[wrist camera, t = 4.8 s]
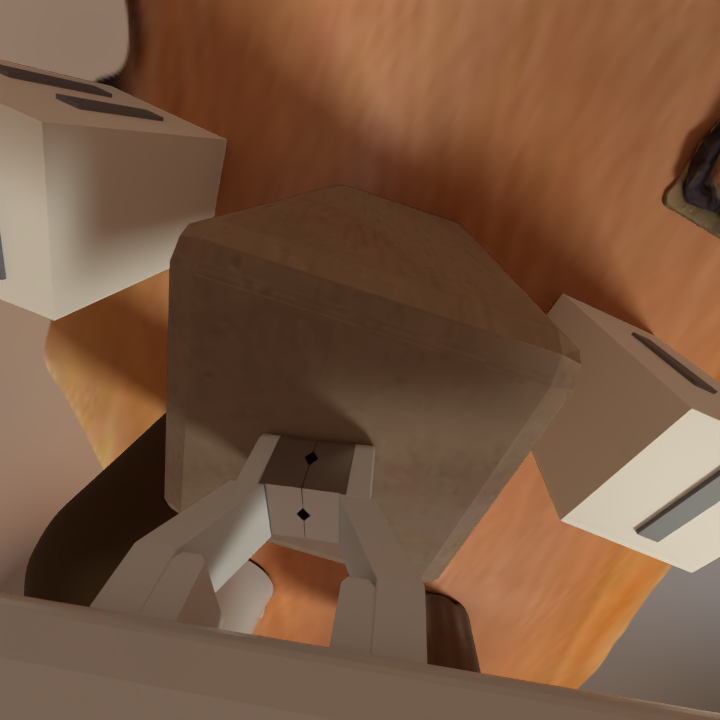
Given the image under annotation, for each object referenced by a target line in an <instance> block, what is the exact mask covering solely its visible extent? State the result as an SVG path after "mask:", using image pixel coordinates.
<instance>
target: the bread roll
mask: <svg viewBox="0 0 720 720" xmlns="http://www.w3.org/2000/svg"><path fill="white" fill-rule="evenodd" d="M662 202H663V204H664V205H665V206H666V207H667V208H669V209H670V210H673V211H675V212H677V213H679V214H680V215H682V216H683V217H685V218H687V219H688V220H690V221H692V222H693V223H695V224H696V225H697V226H699V227H701V228H703V229H704V230H707V231H708V232H709V233H711V234H713V235H714V236H716V237H718V238H719V239H720V119H719V120H718V121H717V124H716V125H715V126H714V127H713V128H711V130H710V133H709V135H707V136H706V137H705V138H703V139H702V140H701V141H700V143H699V144H698V146H697V149H696V151H695V153H694V155H693V156H692V158H691V159H690V160H689V161H688V162H687V165H686V167H685V168H684V169H683V171H682V173H681V175H680V176H679V177H678V178H677V179H676V181H675V183H674V184H673V185H672V186H671V187H670V188H669V189H668V190H667V191H666V193H665V196H664V198H663V201H662Z"/></svg>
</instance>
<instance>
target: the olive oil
mask: <svg viewBox="0 0 720 720" xmlns="http://www.w3.org/2000/svg"><path fill="white" fill-rule="evenodd" d="M165 454H166V413H165V414H164V415H163V416H162V417H161V418H160V419H159V420H157V421H156V422H155V423H154V424H153V425H152V426H151V427H150V428H149V429H148V430H147V431H146V432H145V433H144V434H142V435H141V436H140V437H139V438H138V439H137V440H136V441H135V442H134V443H133V444H132V445H131V446H130V447H128V448H127V449H126V450H125V451H124V452H123V453H122V454H121V455H120V456H119V457H118V458H117V459H115V460H114V461H113V462H112V463H111V464H110V465H109V466H108V467H107V468H106V469H104V470H103V471H102V472H101V473H100V474H99V475H98V476H97V477H96V478H95V479H94V480H92V481H91V482H90V483H89V484H88V485H87V486H86V487H85V488H84V489H83V490H81V491H80V492H79V493H78V494H77V495H76V496H75V497H74V498H73V499H72V500H71V501H69V502H68V503H67V504H66V505H65V506H64V507H63V508H62V509H61V510H60V511H59V512H58V514H57V515H56V516H55V517H54V518H53V520H52V521H51V522H50V524H49V525H48V527H47V528H46V530H45V531H44V533H43V534H42V536H41V538H40V540H39V541H38V543H37V545H36V547H35V549H34V551H33V553H32V555H31V557H30V559H29V562H28V566H27V570H26V575H25V585H24V596H27V597H33V598H39V599H45V600H51V601H57V602H63V603H69V604H75V605H81V606H87V607H90V605H91V604H92V602H93V601H94V600H95V598H96V597H97V595H98V594H99V592H100V591H101V590H102V588H103V587H104V585H105V584H106V583H107V581H108V580H109V578H110V577H111V576H112V574H113V573H114V571H115V570H116V569H117V567H118V566H119V564H120V563H121V562H122V560H123V559H124V557H125V556H126V555H127V553H128V552H129V550H130V549H131V548H132V546H133V545H134V543H135V542H137V541H138V540H140V539H141V538H143V537H144V536H146V535H147V534H149V533H150V532H152V531H153V530H155V529H156V528H158V527H159V526H161V525H162V524H164V523H166V522H167V521H169V520H170V519H172V518H173V517H175V516H176V515H178V514H179V513H178V512H176V511H175V510H173V509H172V508H171V507H170V506H169V504H168V503H167V501H166V500H165Z"/></svg>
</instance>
